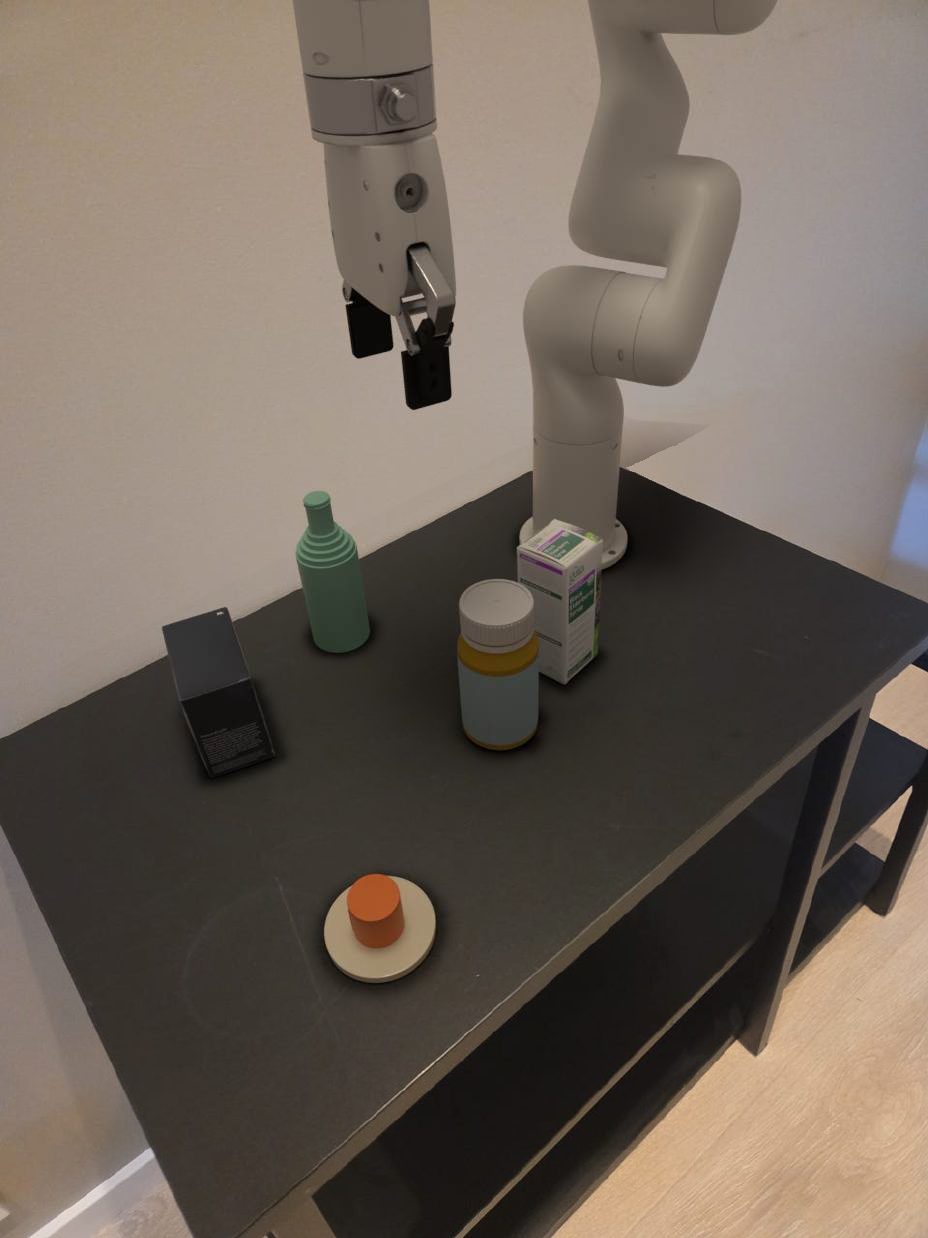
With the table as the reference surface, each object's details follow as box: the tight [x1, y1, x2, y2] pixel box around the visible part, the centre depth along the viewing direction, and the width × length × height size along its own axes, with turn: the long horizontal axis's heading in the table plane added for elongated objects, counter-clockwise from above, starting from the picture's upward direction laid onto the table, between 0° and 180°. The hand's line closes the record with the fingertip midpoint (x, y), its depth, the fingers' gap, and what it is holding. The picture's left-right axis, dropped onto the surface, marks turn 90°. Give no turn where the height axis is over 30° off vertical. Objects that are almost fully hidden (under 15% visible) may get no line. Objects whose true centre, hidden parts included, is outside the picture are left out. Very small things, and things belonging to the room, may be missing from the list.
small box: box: [161, 606, 276, 779], centre depth 79 cm, size 11×6×10 cm, turn 23°
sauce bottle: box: [294, 490, 371, 654], centre depth 86 cm, size 6×6×17 cm
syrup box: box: [516, 519, 603, 685], centre depth 83 cm, size 6×6×14 cm
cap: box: [347, 873, 405, 948], centre depth 64 cm, size 4×4×4 cm
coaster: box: [323, 875, 437, 984], centre depth 65 cm, size 8×8×1 cm
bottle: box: [456, 578, 540, 751], centre depth 76 cm, size 7×7×15 cm
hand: (399, 377), depth 62 cm, fingers open, 9 cm apart
